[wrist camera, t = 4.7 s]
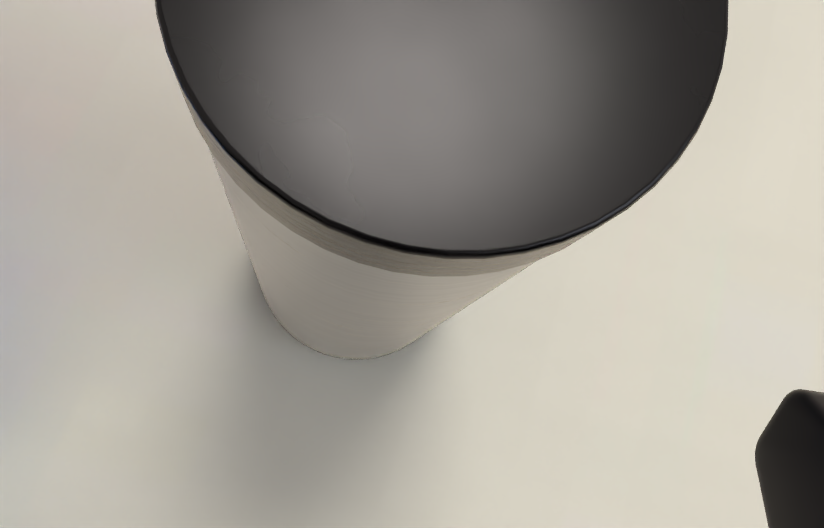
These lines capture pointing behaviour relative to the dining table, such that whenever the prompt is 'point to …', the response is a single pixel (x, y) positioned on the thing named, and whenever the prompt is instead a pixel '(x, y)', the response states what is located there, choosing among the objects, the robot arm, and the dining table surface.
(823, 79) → the dining table surface
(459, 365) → the dining table surface
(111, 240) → the dining table surface
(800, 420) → the robot arm
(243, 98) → the steel tin
